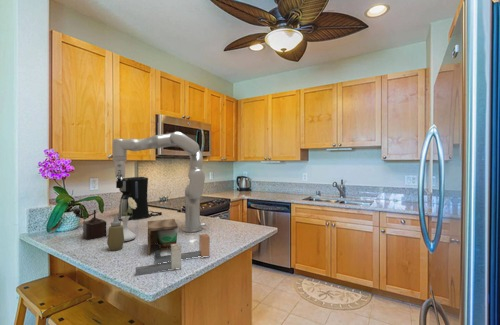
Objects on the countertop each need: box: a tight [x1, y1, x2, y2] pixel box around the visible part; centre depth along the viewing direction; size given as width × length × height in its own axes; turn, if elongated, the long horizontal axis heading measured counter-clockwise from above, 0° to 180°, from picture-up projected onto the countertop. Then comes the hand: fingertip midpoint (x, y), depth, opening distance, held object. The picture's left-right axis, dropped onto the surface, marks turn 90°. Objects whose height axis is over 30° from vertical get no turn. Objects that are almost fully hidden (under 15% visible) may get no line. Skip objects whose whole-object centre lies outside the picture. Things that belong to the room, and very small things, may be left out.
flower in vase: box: [121, 197, 137, 242], centre depth 144 cm, size 13×11×25 cm
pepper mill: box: [72, 208, 107, 241], centre depth 147 cm, size 16×11×18 cm
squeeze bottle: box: [106, 214, 125, 251], centre depth 128 cm, size 8×8×18 cm
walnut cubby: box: [147, 218, 179, 256], centre depth 130 cm, size 14×17×13 cm
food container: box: [156, 227, 180, 250], centre depth 131 cm, size 12×6×10 cm, turn 117°
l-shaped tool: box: [135, 242, 182, 276], centre depth 103 cm, size 18×4×10 cm, turn 113°
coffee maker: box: [118, 176, 163, 221], centre depth 204 cm, size 23×32×34 cm
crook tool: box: [154, 233, 211, 264], centre depth 118 cm, size 25×12×10 cm, turn 113°
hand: (119, 187), depth 147 cm, fingers open, 9 cm apart
